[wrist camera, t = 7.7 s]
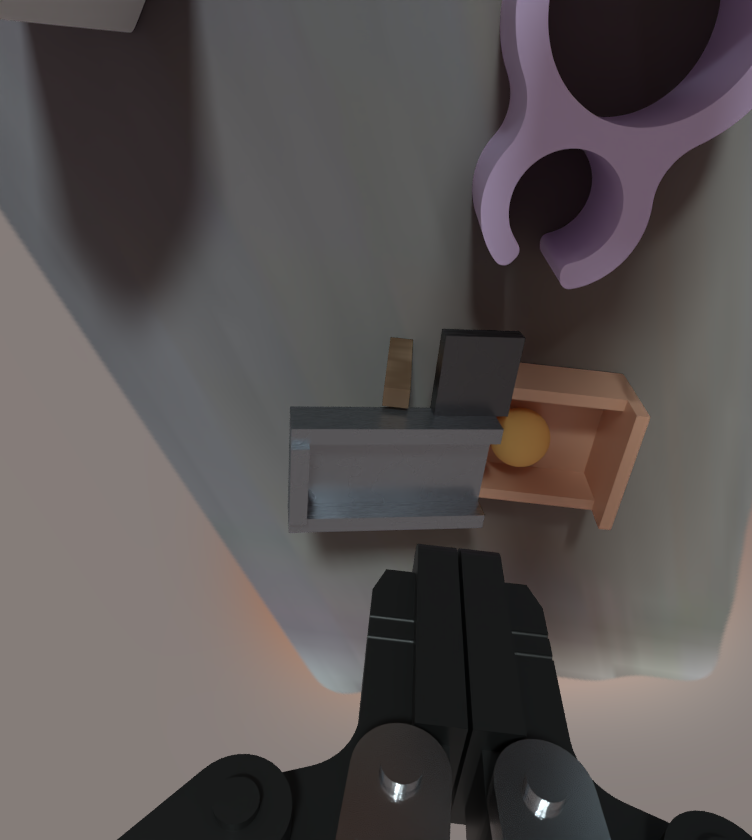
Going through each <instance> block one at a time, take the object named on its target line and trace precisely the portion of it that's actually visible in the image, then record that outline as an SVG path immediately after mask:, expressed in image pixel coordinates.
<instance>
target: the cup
mask: <svg viewBox="0 0 752 840" xmlns="http://www.w3.org/2000/svg"><path fill="white" fill-rule="evenodd" d="M513 408H527V409H530V410H533V411H535V412H536V413H538V414H539V415H540V416H541V417H542V418H543V419H544V420H545V421H546V423H547V425H548V427H549V431H550V444H549V448H548V450H547V452H546V453H545V455H544V456H543V457H542V458H541V459H540V460H539V461H538V462H536V463H534V464H532V465H530V466H525V467H515V466H511V465H508V464H506V463H504V462H503V461H501V460H500V459H499V458H498V457H497V456H496V455H495V453H494V452H493V450H492V447H491V445H490V446H489V451H488V456H487V460H486V465H485V470H484V474H483V479H482V484H481V489H480V493H479V497H481V498H490V499H499V500H508V501H517V502H525V503H534V504H543V505H552V506H561V507H569V508H578V509H587V510H592V512H593V515H594V518H595V520H596V523H597V526H598V528H599V529H605V530H611V528H612V525H613V522H614V519H615V517H616V514H617V511H618V508H619V505H620V502H621V500H622V497H623V494H624V491H625V488H626V485H627V483H628V480H629V477H630V474H631V471H632V468H633V465H634V463H635V460H636V457H637V454H638V451H639V448H640V446H641V443H642V440H643V437H644V434H645V431H646V429H647V426H648V423H649V420H650V416H649V414H648V413H647V411H646V410H645V408H644V406H643V405H642V403H641V402H640V400H639V398H638V397H637V395H636V394H635V392H634V391H633V389H632V387H631V386H630V384H629V383H628V381H627V379H626V378H625V376H624V375H623V374H619V373H610V372H601V371H592V370H583V369H574V368H565V367H556V366H546V365H537V364H528V363H520V364H519V369H518V373H517V378H516V382H515V387H514V391H513V396H512V400H511V405H510V409H513ZM497 417H498V416H496V418H497Z"/></svg>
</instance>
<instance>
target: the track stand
mask: <svg viewBox="0 0 752 840" xmlns="http://www.w3.org/2000/svg"><path fill="white" fill-rule="evenodd" d="M412 348H413V340H411V339H401V338H392V337H391V339H390V347H389V354H388V362H387V370H386V377H385V385H384V394H383V403H382V406H390V407H399V408H408V405H409V397H410V388H411V368H412Z"/></svg>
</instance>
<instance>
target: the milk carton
mask: <svg viewBox="0 0 752 840" xmlns="http://www.w3.org/2000/svg"><path fill="white" fill-rule="evenodd" d="M145 1H146V0H0V19H1V20H10V21H20V22H30V23H39V24H49V25H59V26H69V27H78V28H88V29H98V30H107V31H117V32H127V33H131V32H132V31H133V30H134V28H135V26H136V24H137V21H138V19H139V16H140V13H141V11H142V8H143V6H144V3H145Z"/></svg>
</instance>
